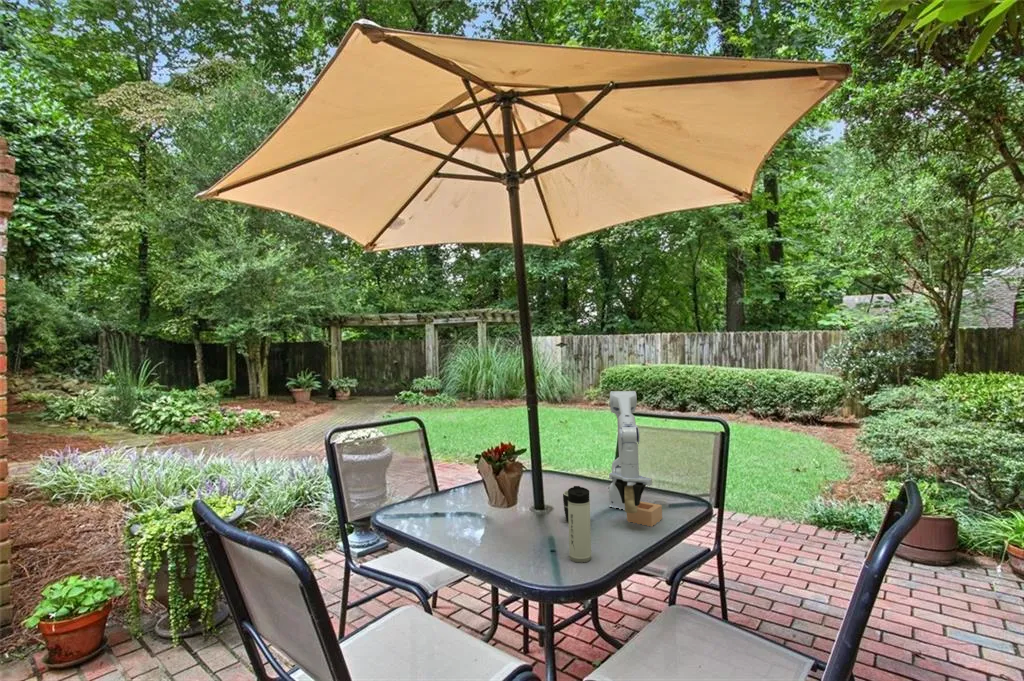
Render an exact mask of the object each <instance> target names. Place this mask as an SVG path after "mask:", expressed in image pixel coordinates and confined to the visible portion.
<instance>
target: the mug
mask: <svg viewBox="0 0 1024 681" xmlns="http://www.w3.org/2000/svg"><path fill="white" fill-rule="evenodd" d="M568 490H569V489H567V490H565V491H563V492H562V500H563V510H564V516H565V519H566V520H565V521H566V522H567V524H569V521H568Z"/></svg>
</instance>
